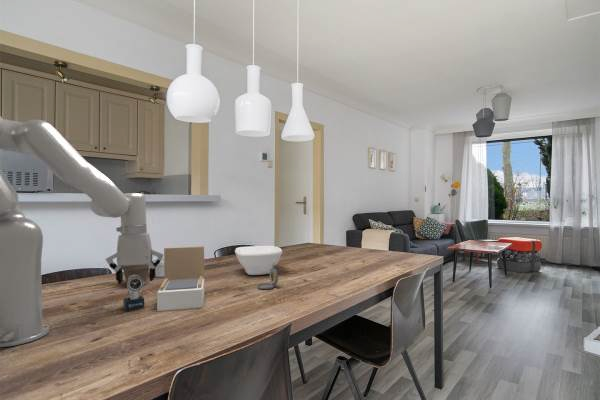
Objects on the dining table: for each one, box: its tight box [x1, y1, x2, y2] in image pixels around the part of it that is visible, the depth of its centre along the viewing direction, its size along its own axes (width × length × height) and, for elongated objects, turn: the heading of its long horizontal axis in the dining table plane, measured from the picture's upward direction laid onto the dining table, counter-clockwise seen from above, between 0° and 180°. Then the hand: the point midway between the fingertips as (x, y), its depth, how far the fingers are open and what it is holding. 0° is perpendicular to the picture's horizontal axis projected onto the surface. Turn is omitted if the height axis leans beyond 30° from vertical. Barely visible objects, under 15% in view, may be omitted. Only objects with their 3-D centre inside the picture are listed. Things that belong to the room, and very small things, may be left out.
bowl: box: [234, 245, 284, 276], centre depth 157 cm, size 22×22×12 cm
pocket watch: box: [257, 262, 279, 290], centre depth 133 cm, size 8×8×10 cm
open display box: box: [156, 246, 205, 312], centre depth 116 cm, size 16×14×18 cm
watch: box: [123, 274, 146, 312], centre depth 109 cm, size 6×8×11 cm
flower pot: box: [121, 264, 150, 286], centre depth 137 cm, size 12×11×10 cm
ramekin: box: [152, 257, 164, 278], centre depth 156 cm, size 13×13×7 cm
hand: (136, 281), depth 110 cm, fingers open, 9 cm apart
